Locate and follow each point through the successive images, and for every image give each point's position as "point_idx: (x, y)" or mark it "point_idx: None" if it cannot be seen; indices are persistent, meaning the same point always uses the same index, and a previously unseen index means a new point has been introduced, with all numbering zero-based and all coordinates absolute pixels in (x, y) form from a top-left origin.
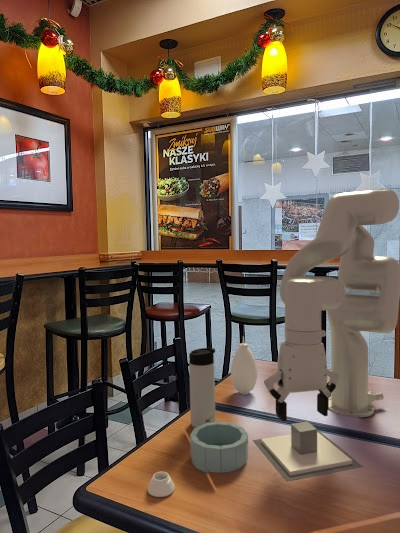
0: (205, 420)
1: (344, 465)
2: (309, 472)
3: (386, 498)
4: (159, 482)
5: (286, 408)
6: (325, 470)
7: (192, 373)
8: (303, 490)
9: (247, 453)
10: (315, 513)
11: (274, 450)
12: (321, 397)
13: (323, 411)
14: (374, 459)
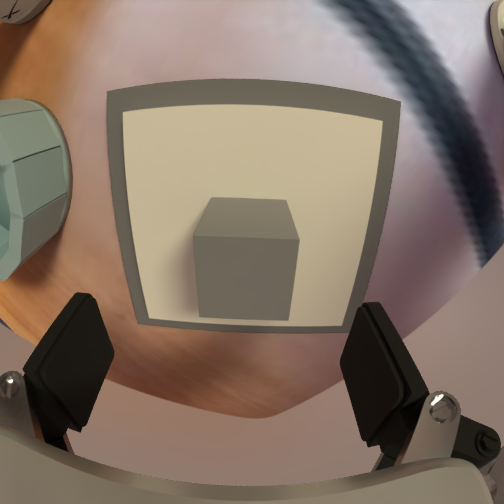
0: (3, 18)
1: None
2: None
3: (307, 391)
4: None
5: (93, 404)
6: None
7: None
8: (169, 343)
9: (56, 212)
10: (167, 383)
11: (138, 207)
12: (376, 423)
13: (347, 372)
14: (408, 300)
